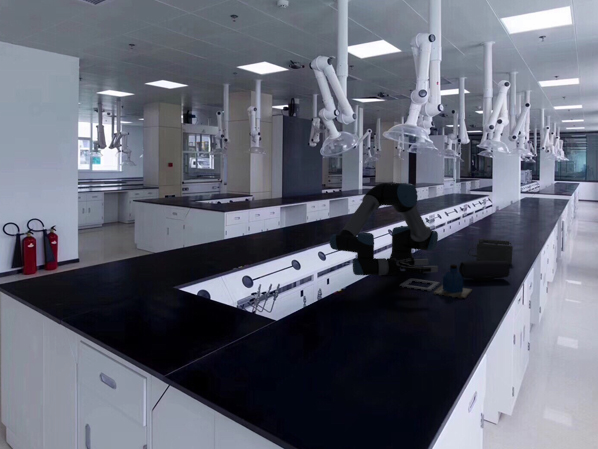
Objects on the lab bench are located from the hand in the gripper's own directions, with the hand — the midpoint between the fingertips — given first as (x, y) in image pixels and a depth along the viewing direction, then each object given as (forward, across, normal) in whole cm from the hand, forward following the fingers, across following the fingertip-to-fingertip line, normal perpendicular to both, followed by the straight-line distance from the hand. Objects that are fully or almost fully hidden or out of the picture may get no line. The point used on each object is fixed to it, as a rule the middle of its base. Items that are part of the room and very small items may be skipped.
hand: (432, 265), depth 202 cm
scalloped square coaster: (-2, -13, -13) cm, 19 cm away
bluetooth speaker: (+34, -22, -14) cm, 43 cm away
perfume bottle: (+10, 0, -12) cm, 16 cm away
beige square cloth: (+10, 0, -13) cm, 17 cm away
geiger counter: (+55, -64, -15) cm, 86 cm away
